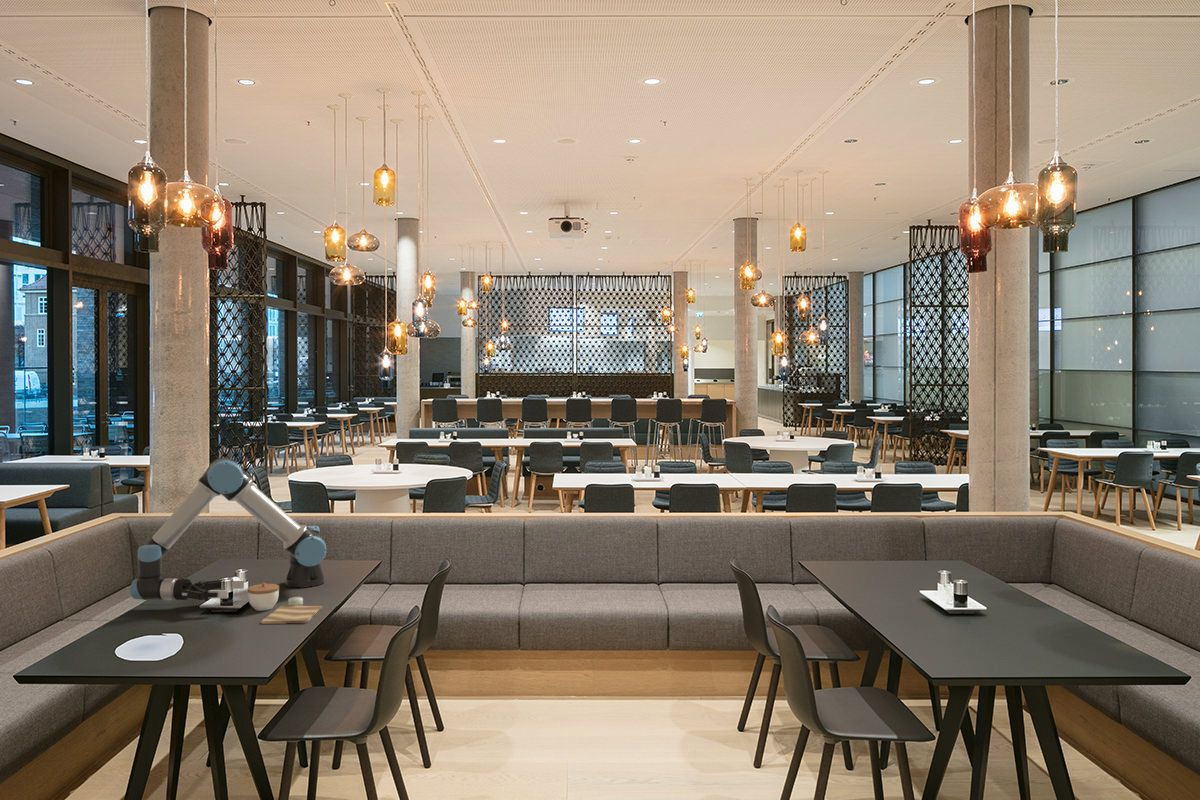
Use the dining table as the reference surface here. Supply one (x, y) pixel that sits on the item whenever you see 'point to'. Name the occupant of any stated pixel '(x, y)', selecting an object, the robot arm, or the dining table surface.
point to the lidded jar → (263, 596)
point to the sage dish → (295, 601)
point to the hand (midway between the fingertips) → (235, 589)
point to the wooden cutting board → (291, 614)
